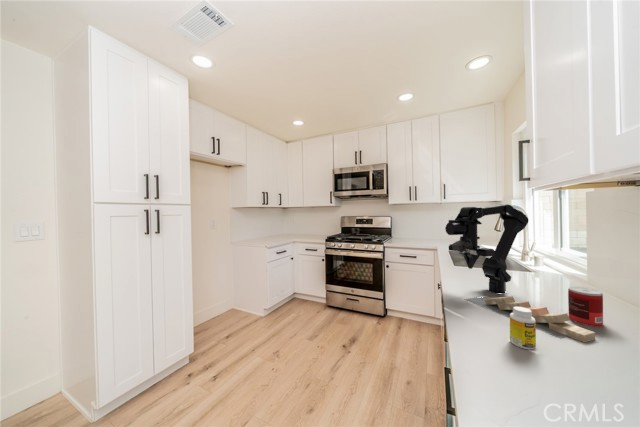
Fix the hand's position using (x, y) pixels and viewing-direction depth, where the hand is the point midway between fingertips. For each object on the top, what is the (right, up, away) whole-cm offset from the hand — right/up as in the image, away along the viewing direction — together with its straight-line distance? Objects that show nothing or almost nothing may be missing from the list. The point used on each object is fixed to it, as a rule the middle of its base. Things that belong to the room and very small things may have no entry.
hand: (470, 268), depth 104 cm
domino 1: (+1, -11, -11) cm, 15 cm away
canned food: (+21, -12, -27) cm, 36 cm away
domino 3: (+4, -11, -21) cm, 24 cm away
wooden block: (+7, -11, -31) cm, 33 cm away
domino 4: (+5, -11, -26) cm, 29 cm away
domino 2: (+2, -11, -16) cm, 19 cm away
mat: (+3, -12, -20) cm, 24 cm away
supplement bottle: (-11, -13, -39) cm, 42 cm away
